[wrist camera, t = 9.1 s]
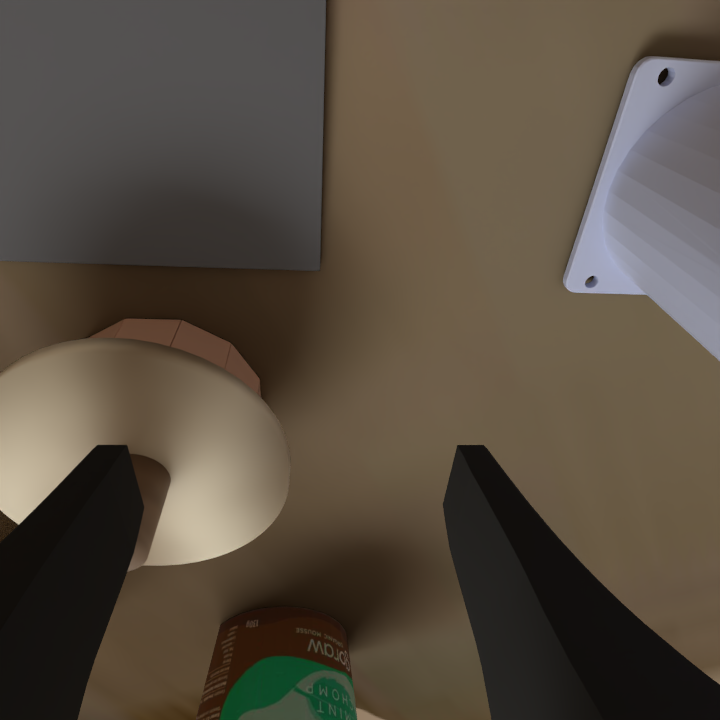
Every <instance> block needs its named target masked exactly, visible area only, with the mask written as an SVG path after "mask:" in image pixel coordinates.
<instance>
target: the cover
mask: <svg viewBox="0 0 720 720" xmlns="http://www.w3.org/2000/svg"><path fill="white" fill-rule="evenodd" d="M97 445H127V446H128V450H129V453H130V457H131V460H132V464H133V468H134V471H135V475H136V478H137V482H138V486H139V489H140V493H141V496H142V500H143V504H144V511H143V516H142V520H141V525H140V530H139V534H138V538H137V542H136V546H135V550H134V554H133V557H132V559H131V562H130V565H129V568H128V571H131V570H134V569H137V568H139V567H140V566H142V565H158V566H163V565H178V564H186V563H193V562H199V561H203V560H207V559H212V558H215V557H218V556H221V555H224V554H227V553H229V552H231V551H234V550H236V549H238V548H240V547H242V546H244V545H246V544H247V543H249V542H251V541H252V540H254V539H255V538H256V537H258V536H259V535H260V534H262V533H263V532H264V531H265V530H266V529H267V528H268V527H269V526H270V525H271V524H272V523H273V522H274V520H275V519H276V517H277V516H278V515H279V513H280V512H281V510H282V507H283V505H284V503H285V501H286V498H287V494H288V490H289V479H290V463H291V458H290V450H289V445H288V441H287V438H286V435H285V432H284V430H283V428H282V426H281V424H280V422H279V420H278V419H277V417H276V416H275V414H274V413H273V412H272V410H271V409H270V407H269V406H268V405H267V404H266V403H265V401H264V400H263V399H262V398H261V397H260V396H259V395H258V394H257V393H256V392H255V391H254V390H253V389H251V388H250V387H249V386H248V385H246V384H245V383H244V382H243V381H242V380H240V379H239V378H237V377H236V376H234V375H233V374H231V373H230V372H228V371H226V370H225V369H223V368H222V367H220V366H218V365H216V364H214V363H212V362H210V361H208V360H206V359H204V358H202V357H199V356H197V355H194V354H191V353H189V352H186V351H183V350H181V349H177V348H174V347H170V346H166V345H162V344H159V343H154V342H148V341H142V340H136V339H125V338H85V339H78V340H72V341H66V342H61V343H57V344H54V345H50V346H47V347H43V348H41V349H38V350H36V351H34V352H32V353H29V354H27V355H25V356H23V357H21V358H20V359H18V360H17V361H15V362H14V363H12V364H10V365H9V366H7V367H6V368H5V369H4V370H3V371H2V372H1V373H0V510H1V511H2V512H3V513H4V514H5V515H6V516H8V517H9V518H10V519H12V520H13V521H14V522H16V523H17V524H20V523H21V522H22V521H23V520H24V519H25V518H26V517H27V516H28V515H29V514H30V513H31V512H32V511H33V510H34V509H35V508H36V507H37V506H38V505H39V504H40V503H41V502H42V501H43V500H44V499H45V498H46V497H47V496H48V495H49V494H50V493H51V492H52V491H53V490H54V489H55V488H56V487H57V486H58V485H59V484H60V483H61V482H62V481H63V480H64V479H65V478H66V476H67V475H68V474H69V473H70V472H71V471H72V470H73V469H74V468H75V467H76V466H77V465H78V464H79V463H80V462H81V461H82V460H83V459H84V458H85V457H86V456H87V455H88V454H89V453H90V451H91V450H92V449H93V448H95V447H96V446H97Z"/></svg>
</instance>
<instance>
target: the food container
mask: <svg viewBox="0 0 720 720" xmlns="http://www.w3.org/2000/svg"><path fill="white" fill-rule="evenodd" d="M196 720H357V714H356V706H355V698H354V690H353V682H352V674H351V666H350V659H349V651H348V643H347V635H346V632H345V630H344V629H343V627H342V626H341V624H340V623H339V622H338V621H336V620H335V619H333V618H332V617H330V616H328V615H326V614H324V613H322V612H318V611H315V610H311V609H306V608H299V607H269V608H262V609H256V610H253V611H249V612H245V613H242V614H240V615H237V616H235V617H233V618H231V619H229V620H227V621H226V622H224V623H223V624H221V625H220V628H219V632H218V636H217V640H216V644H215V648H214V652H213V656H212V660H211V663H210V667H209V671H208V675H207V679H206V683H205V687H204V691H203V695H202V699H201V702H200V706H199V710H198V714H197V718H196Z"/></svg>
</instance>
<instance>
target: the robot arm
mask: <svg viewBox="0 0 720 720" xmlns="http://www.w3.org/2000/svg"><path fill="white" fill-rule="evenodd" d="M665 68H667V69H668V76H667V78H666V79H665V81H664V82H662V83H661V84H659V83H658V76H659V74H660V73H661V71H662V70H664V69H665ZM590 276H594V278H593V280H592V281H591V282H589V283H585V281H586V280H587V278H589V277H590ZM563 283H564V286H565V287H566V288H567V289H568V290H569V291H570V292H575V293H607V294H641V295H648V296H649V297H650V298H651V299H652V300H653V301H654V302H656V303H657V304H658V305H659V306H660V307H661V308H662V309H663V310H664V311H665V312H666V313H668V314H669V315H670V316H671V317H672V318H673V319H674V320H675V321H676V322H677V323H679V324H680V325H681V326H682V327H683V328H684V329H685V330H686V331H687V332H688V333H689V334H691V335H692V336H693V337H694V338H695V339H696V340H697V341H698V342H699V343H700V344H702V345H703V346H704V347H705V348H706V349H707V350H708V351H709V352H710V353H711V354H712V355H714V356H715V357H716V358H717V359H718V360H719V361H720V61H713V60H699V59H686V58H672V57H659V56H648V57H644V58H643V59H641V60H639V61H638V62H637V63H636V64H635V65H634V67H633V69H632V71H631V73H630V75H629V78H628V81H627V84H626V88H625V91H624V94H623V97H622V100H621V103H620V106H619V109H618V112H617V115H616V118H615V121H614V124H613V127H612V130H611V133H610V136H609V139H608V143H607V146H606V149H605V152H604V155H603V158H602V161H601V164H600V167H599V170H598V173H597V176H596V179H595V182H594V185H593V188H592V191H591V194H590V198H589V201H588V204H587V207H586V210H585V213H584V216H583V219H582V222H581V225H580V228H579V231H578V234H577V237H576V240H575V243H574V246H573V249H572V252H571V256H570V259H569V262H568V265H567V268H566V271H565V274H564V277H563ZM443 508H444V515H445V522H446V529H447V535H448V541H449V547H450V551H451V555H452V558H453V562H454V566H455V569H456V573H457V577H458V580H459V584H460V587H461V591H462V595H463V598H464V602H465V605H466V609H467V612H468V616H469V620H470V623H471V627H472V630H473V634H474V637H475V641H476V645H477V649H478V653H479V657H480V661H481V665H482V670H483V675H484V681H485V686H486V692H487V697H488V702H489V708H490V713H491V719H492V720H720V685H719V684H718V683H717V682H715V681H714V680H713V679H711V678H710V677H709V676H708V675H706V674H705V673H704V672H702V671H701V670H700V669H699V668H697V667H696V666H695V665H694V664H692V663H691V662H690V661H689V660H687V659H686V658H685V657H684V656H683V655H681V654H680V653H679V652H678V651H677V650H675V649H674V648H673V647H672V646H671V645H669V644H668V643H667V642H666V641H665V640H663V639H662V638H661V637H660V636H659V635H657V634H656V633H655V632H654V631H653V630H652V629H650V628H649V627H648V626H647V625H646V624H644V623H643V622H642V621H641V620H640V619H639V618H638V617H637V616H635V615H634V614H633V613H632V612H631V611H630V610H629V609H628V608H627V607H626V606H624V605H623V604H622V603H621V602H620V601H619V600H618V599H617V598H616V597H615V596H614V595H613V594H612V593H611V592H610V591H609V590H608V589H607V588H606V587H605V586H604V585H603V584H602V583H601V582H600V581H599V580H598V579H597V578H596V577H595V576H594V575H593V574H592V573H591V572H590V571H589V570H588V569H587V568H586V567H585V566H584V565H583V564H582V563H581V562H580V561H579V560H578V559H577V558H576V557H575V555H574V554H573V553H572V552H571V551H570V550H569V549H568V548H567V547H566V546H565V545H564V543H563V542H562V541H561V540H560V539H559V538H558V537H557V536H556V534H555V533H554V532H553V531H552V530H551V529H550V527H549V526H548V525H547V524H546V523H545V522H544V520H543V519H542V518H541V517H540V516H539V514H538V513H537V512H536V511H535V510H534V508H533V507H532V506H531V505H530V504H529V502H528V501H527V500H526V499H525V497H524V496H523V495H522V494H521V492H520V491H519V490H518V488H517V487H516V486H515V485H514V483H513V482H512V481H511V480H510V478H509V477H508V476H507V474H506V473H505V472H504V470H503V469H502V468H501V466H500V465H499V464H498V462H497V461H496V460H495V458H494V457H493V456H492V455H491V453H490V452H489V451H488V449H487V448H486V447H485V446H484V445H457V449H456V453H455V457H454V461H453V465H452V469H451V473H450V478H449V482H448V486H447V490H446V494H445V498H444V502H443ZM143 511H144V504H143V500H142V496H141V493H140V489H139V486H138V482H137V478H136V475H135V471H134V468H133V464H132V460H131V457H130V453H129V450H128V446H127V445H97V446H96V447H95V448H93V449H92V450H91V451H90V453H89V454H88V455H87V456H86V457H85V458H84V459H83V460H82V461H81V462H80V463H79V464H78V465H77V466H76V467H75V468H74V469H73V470H72V471H71V472H70V473H69V474H68V475H67V476H66V478H65V479H64V480H63V481H62V482H61V483H60V484H59V485H58V486H57V487H56V488H55V489H54V490H53V491H52V492H51V493H50V494H49V495H48V496H47V497H46V498H45V499H44V500H43V501H42V502H41V503H40V504H39V505H38V506H37V507H36V508H35V509H34V510H33V511H32V512H31V513H30V514H29V515H28V516H27V517H26V518H25V519H24V520H23V521H22V522H21V523H20V524H19V525H18V526H17V527H16V528H15V529H14V530H13V531H12V532H11V533H10V534H9V535H8V536H7V537H6V538H5V539H4V540H2V541H1V542H0V720H77V719H78V715H79V711H80V708H81V704H82V700H83V696H84V693H85V689H86V685H87V682H88V679H89V676H90V673H91V670H92V667H93V664H94V660H95V658H96V655H97V652H98V649H99V647H100V644H101V641H102V639H103V636H104V633H105V631H106V628H107V625H108V622H109V620H110V617H111V614H112V612H113V609H114V606H115V603H116V601H117V598H118V595H119V593H120V590H121V587H122V584H123V582H124V579H125V576H126V573H127V571H128V568H129V565H130V562H131V559H132V557H133V554H134V550H135V546H136V542H137V538H138V534H139V530H140V525H141V520H142V516H143Z"/></svg>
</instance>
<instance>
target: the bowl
mask: <svg viewBox="0 0 720 720" xmlns="http://www.w3.org/2000/svg"><path fill="white" fill-rule="evenodd" d="M89 338H125V339H136V340H142V341H148V342H154V343H159V344H162V345H166V346H170V347H174V348H177V349H181V350H183V351H186V352H189V353H191V354H194V355H197V356H199V357H202V358H204V359H206V360H208V361H210V362H212V363H214V364H216V365H218V366H220V367H222V368H223V369H225V370H226V371H228V372H230V373H231V374H233V375H234V376H236V377H237V378H239V379H240V380H242V381H243V382H244V383H245V384H246V385H248V386H249V387H250V388H251V389H253V390H254V391H255V392H256V393H257V394H258V395H259V396H260V397H261V390H260V380H259V377H258V376H257V375H256V374H255V372H254V371H253V370H252V369H251V367H250V366H249V365H248V364H247V362H246V361H245V360H244V359H243V357H242V356H241V355H240V353H239V352H238V351H237V350H236V348H235V347H234V346H233V345H232V344H231V343H230V342H228V341H226V340H223V339H221V338H219V337H217V336H215V335H213V334H211V333H209V332H206V331H204V330H202V329H200V328H198V327H196V326H194V325H192V324H189V323H187V322H185V321H183V320H182V321H181V320H168V319H124V320H122V321H120V322H118V323H116V324H114V325H112V326H110V327H108V328H106V329H104V330H102V331H100V332H98V333H96V334H94V335H92V336H91V337H89Z"/></svg>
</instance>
